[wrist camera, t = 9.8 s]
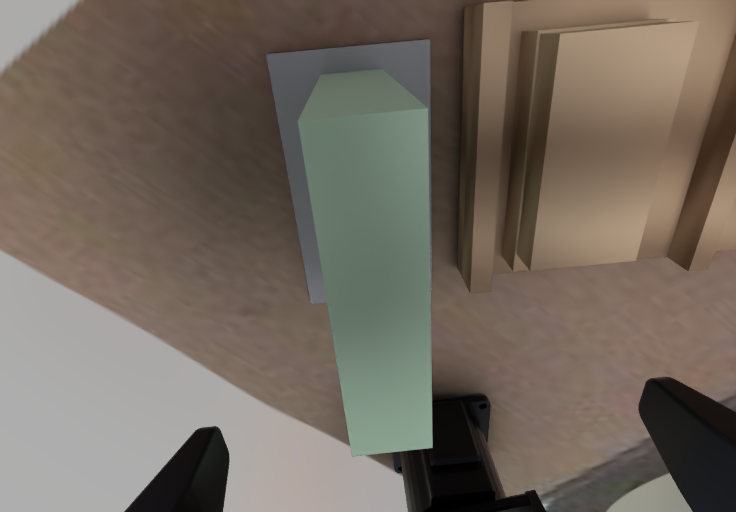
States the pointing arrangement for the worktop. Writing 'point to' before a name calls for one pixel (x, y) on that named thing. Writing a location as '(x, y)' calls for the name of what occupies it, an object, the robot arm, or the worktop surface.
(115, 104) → the worktop surface
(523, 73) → the block
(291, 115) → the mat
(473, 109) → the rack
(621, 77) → the offcut top
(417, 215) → the pale green square slab
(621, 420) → the worktop surface
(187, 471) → the robot arm
